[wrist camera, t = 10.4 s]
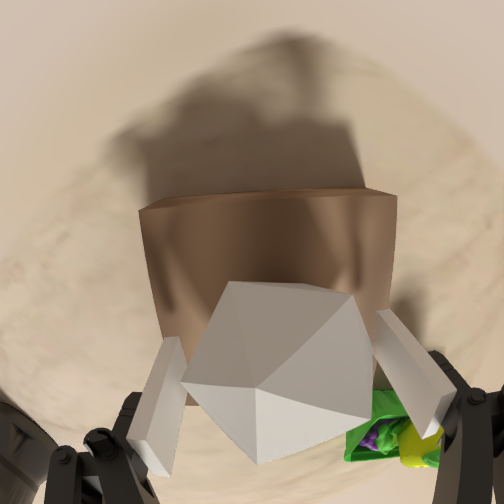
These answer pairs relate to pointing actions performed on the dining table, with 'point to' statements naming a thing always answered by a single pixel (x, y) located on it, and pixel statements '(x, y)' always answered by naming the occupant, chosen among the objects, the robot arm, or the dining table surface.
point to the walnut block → (266, 250)
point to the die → (283, 367)
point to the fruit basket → (391, 435)
